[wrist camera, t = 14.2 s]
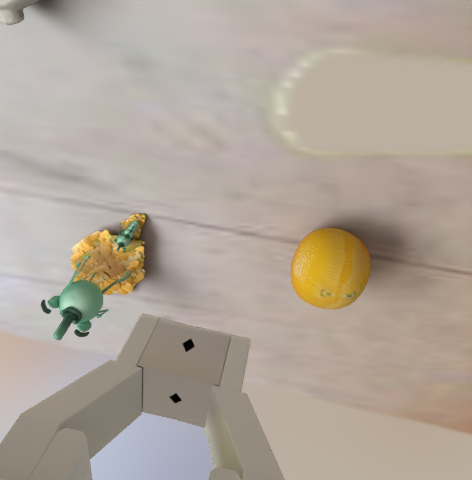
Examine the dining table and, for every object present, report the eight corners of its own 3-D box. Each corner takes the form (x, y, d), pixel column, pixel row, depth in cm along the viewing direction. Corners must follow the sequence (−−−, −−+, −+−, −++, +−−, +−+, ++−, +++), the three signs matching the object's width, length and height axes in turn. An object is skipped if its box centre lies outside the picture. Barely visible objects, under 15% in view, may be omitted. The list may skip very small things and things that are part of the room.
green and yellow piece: (187, 253, 49) (135, 348, 38) (108, 298, 59) (48, 384, 47) (132, 197, 46) (56, 283, 34) (58, 255, 55) (-19, 336, 44)
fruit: (358, 280, 46) (365, 329, 40) (290, 274, 48) (286, 321, 41) (371, 217, 42) (381, 260, 35) (295, 211, 43) (291, 252, 36)
